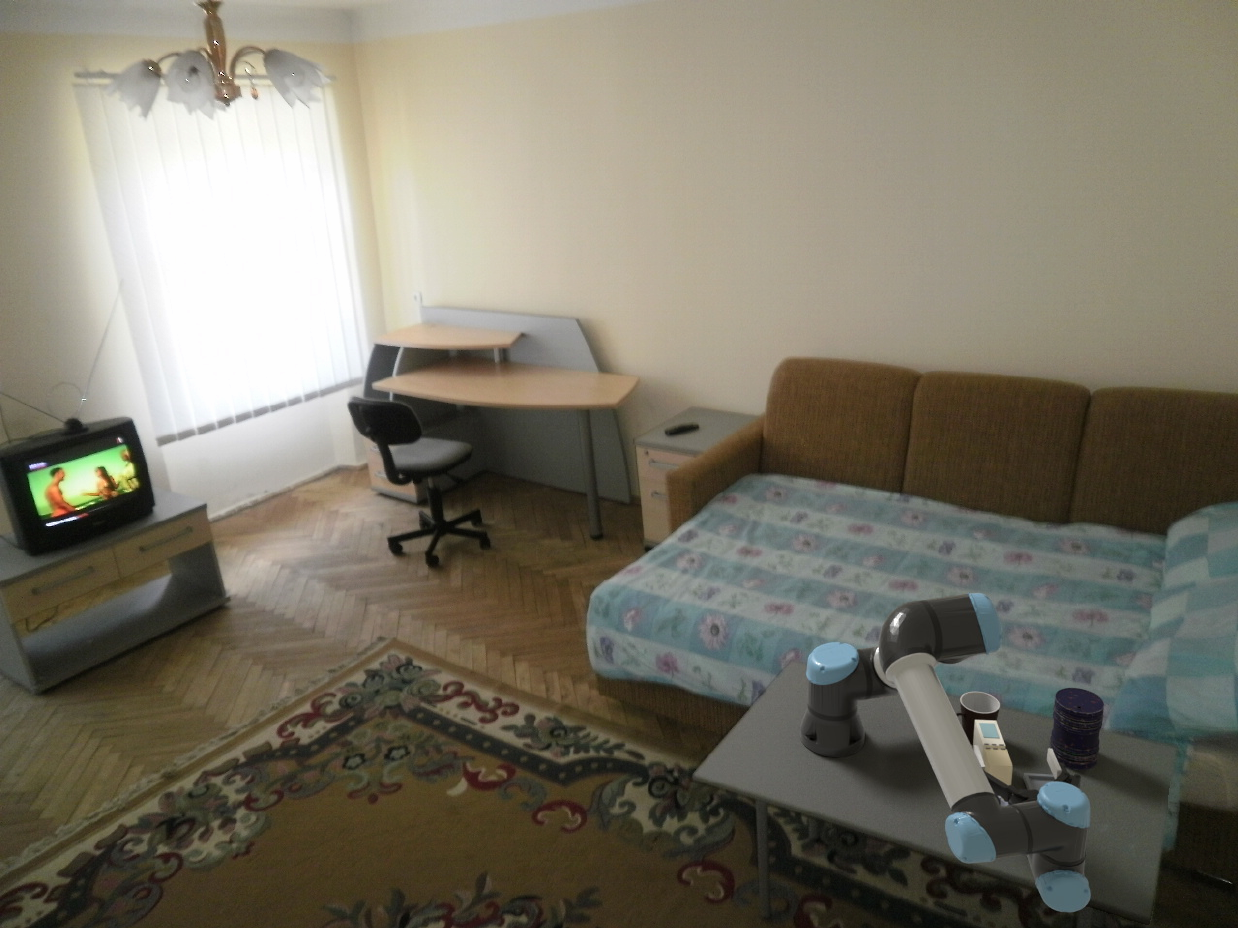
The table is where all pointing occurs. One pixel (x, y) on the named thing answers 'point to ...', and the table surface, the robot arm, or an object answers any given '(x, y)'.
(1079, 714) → the storage jar
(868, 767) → the table surface
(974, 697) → the coffee mug
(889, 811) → the table surface
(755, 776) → the table surface
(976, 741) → the cream box with panel
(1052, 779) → the tray
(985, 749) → the cream rectangular block
